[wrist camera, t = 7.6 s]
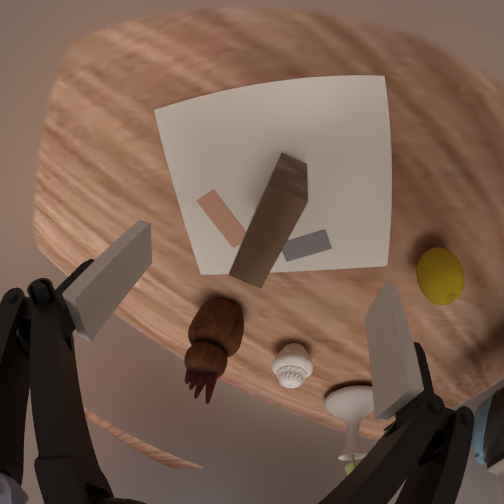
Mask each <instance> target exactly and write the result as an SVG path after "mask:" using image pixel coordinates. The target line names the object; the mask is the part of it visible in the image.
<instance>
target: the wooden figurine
mask: <svg viewBox="0 0 504 504" xmlns="http://www.w3.org/2000/svg"><path fill="white" fill-rule="evenodd" d="M243 331H244V318H243V314H242V312H241V309H240V308H239V307H238V306H237V305H236V304H234V303H233V302H231V301H228V300H225V299H213V300H211V301H209V302H207V303H205V304H204V305H203V306H202V307H201V308H200V310H199V311H198V312H197V314H196V316H195V317H194V319H193V321H192V323H191V325H190V327H189V332H188V338H189V341H190V343H191V345H192V346H191V347H190V348H189V349H188V350H187V352H186V355H185V366H186V368H187V371H186V377H185V383H186V384H188V383H189V382H190V385H189V389H190V390H192V389H193V388H194V386H195V385H196V390H195V395H194V398H197V397H198V396H199V394H200V392H201V390H202V389H203V387H204V385H205V384H206V404H209V402H210V398H211V396H212V393H213V390H214V387H215V384H216V380H217V378H219V377H220V376H222V374H223V373H224V371H225V369H226V366H227V357H230V356H232V355H233V354H235V353H236V352H237V351H238V349H239V348H240V344H241V340H242V337H243ZM196 383H197V384H196Z"/></svg>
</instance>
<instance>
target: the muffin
mask: <svg viewBox="0 0 504 504" xmlns="http://www.w3.org/2000/svg"><path fill="white" fill-rule="evenodd" d="M272 370H273V372H274V373H275V374H276V375H277V377H278V378H279V382H280V384H281V385H282V386H284V387H287V388H296V387H299V386H300V385H302V382H303V381H304V379H306V378H307V377H308V376H310V375H311V373H312V371H313V363H312V361H311V357H310V356H309V354H308V353H307V351H306V349H305V348H304V347H303V346H302V345H301V344H298V343H290V344H287V345H286V346H285V347H284V348H283V349H282V350H281V351H280V352H279V353H278V354H277V355H276V357H275V359H274V360H273V362H272Z"/></svg>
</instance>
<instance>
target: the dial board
mask: <svg viewBox="0 0 504 504" xmlns="http://www.w3.org/2000/svg"><path fill="white" fill-rule="evenodd" d="M154 112H155V116H156V121H157V125H158V129H159V133H160V137H161V141H162V145H163V149H164V153H165V156H166V160H167V164H168V168H169V171H170V175H171V179H172V182H173V186H174V189H175V193H176V196H177V200H178V203H179V206H180V210H181V213H182V217H183V220H184V223H185V226H186V230H187V233H188V236H189V239H190V242H191V245H192V249H193V252H194V255H195V258H196V261H197V264H198V267H199V270H200V273H201V275H216V274H229V272H230V269H231V267H232V265H233V262H234V260H235V257H236V255H237V253H238V250H239V248H240V245H241V243H242V241H243V238H244V236H245V234H246V231H247V229H248V226H249V224H250V222H251V219H252V217H253V215H254V212H255V210H256V208H257V206H258V203H259V201H260V199H261V197H262V195H263V192H264V190H265V188H266V186H267V183H268V181H269V179H270V177H271V174H272V172H273V170H274V168H275V166H276V163H277V161H278V159H279V157H280V155H281V152H282V153H284V154H287V155H289V156H291V157H293V158H296V159H298V160H300V161H302V162H304V163H306V164H307V175H308V203H307V205H306V207H305V209H304V211H303V212H302V214H301V216H300V218H299V220H298V222H297V224H296V225H295V227H294V229H293V231H292V233H291V235H290V236H289V238H288V240H287V242H286V244H285V246H284V247H283V249H282V251H281V253H280V255H279V257H278V258H277V260H276V262H275V264H274V266H273V267H272V269H271V271H270V272H292V271H313V270H331V269H349V268H365V267H380V266H387V262H388V252H389V241H390V227H391V206H392V153H391V133H390V120H389V109H388V100H387V91H386V84H385V77H384V76H373V75H349V76H324V77H310V78H299V79H290V80H282V81H274V82H267V83H261V84H255V85H249V86H244V87H239V88H234V89H229V90H224V91H220V92H216V93H211V94H207V95H203V96H199V97H196V98H192V99H188V100H185V101H181V102H178V103H175V104H171V105H168V106H165V107H162V108H159V109H156V110H154Z"/></svg>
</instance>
